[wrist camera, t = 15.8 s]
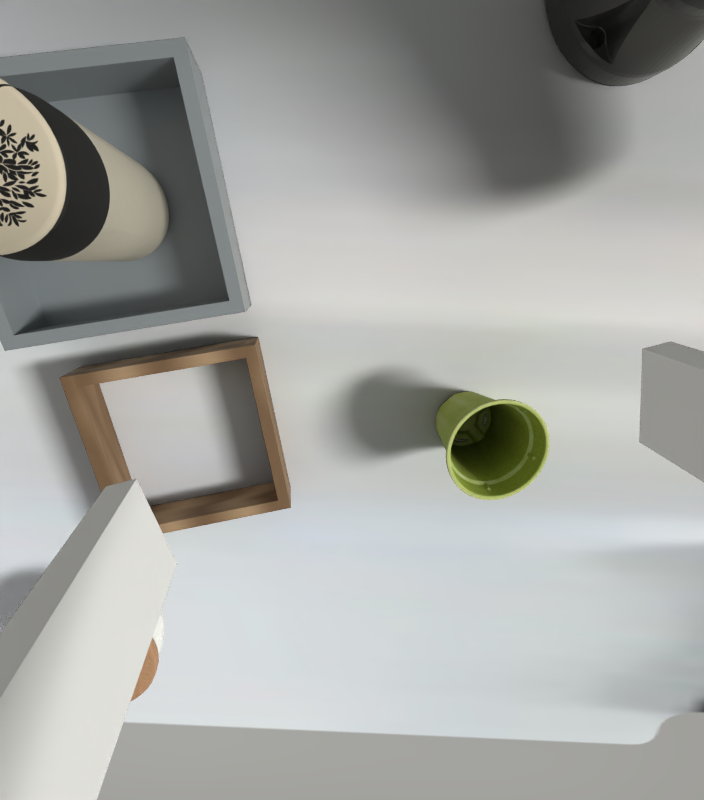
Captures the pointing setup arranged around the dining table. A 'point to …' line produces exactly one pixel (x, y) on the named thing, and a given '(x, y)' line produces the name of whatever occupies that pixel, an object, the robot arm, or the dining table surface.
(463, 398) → the plant pot
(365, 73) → the dining table surface
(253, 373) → the walnut frame
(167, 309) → the slate bin
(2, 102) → the travel mug
